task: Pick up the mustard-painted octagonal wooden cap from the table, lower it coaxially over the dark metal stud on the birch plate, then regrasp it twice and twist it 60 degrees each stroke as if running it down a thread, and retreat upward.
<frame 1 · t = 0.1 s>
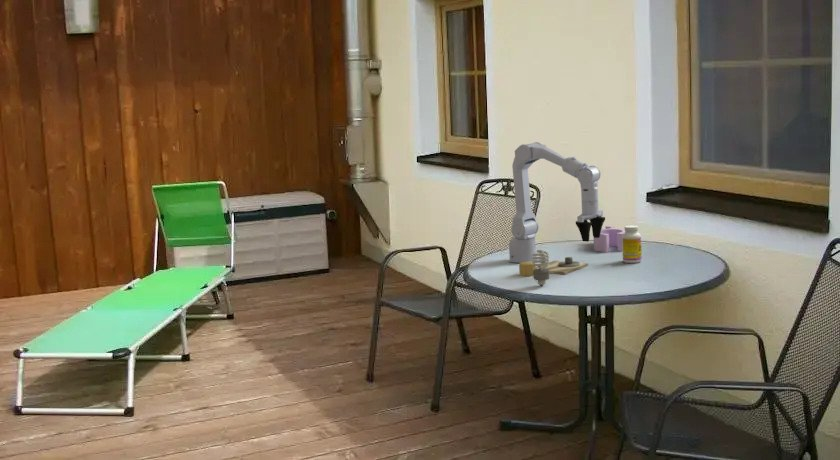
hand: (591, 239, 339), 10 cm above the table, fingers open, 7 cm apart
cap: (527, 274, 336), on the table
clip: (608, 248, 375), on the table
stud plate: (559, 268, 342), on the table
light bulb: (541, 286, 317), on the table
supplement bottle: (632, 262, 346), on the table
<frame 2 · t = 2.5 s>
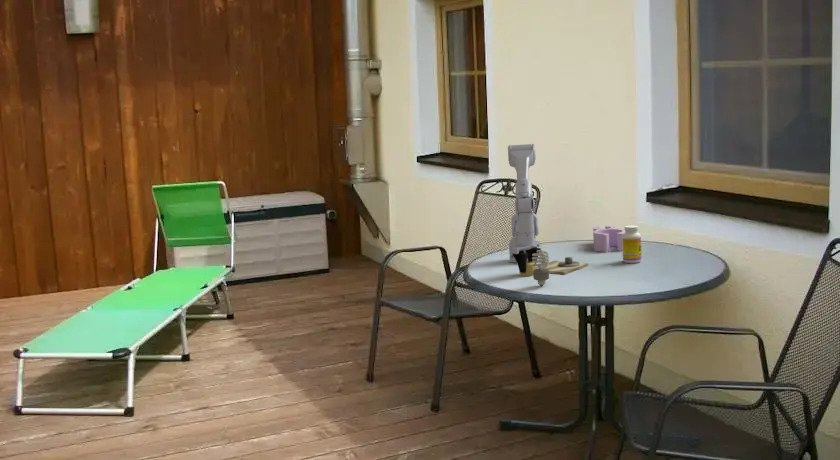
hand: (527, 270, 336), 1 cm above the table, fingers closed on cap, 5 cm apart
cap: (527, 274, 336), on the table, touching gripper
everything else where it was.
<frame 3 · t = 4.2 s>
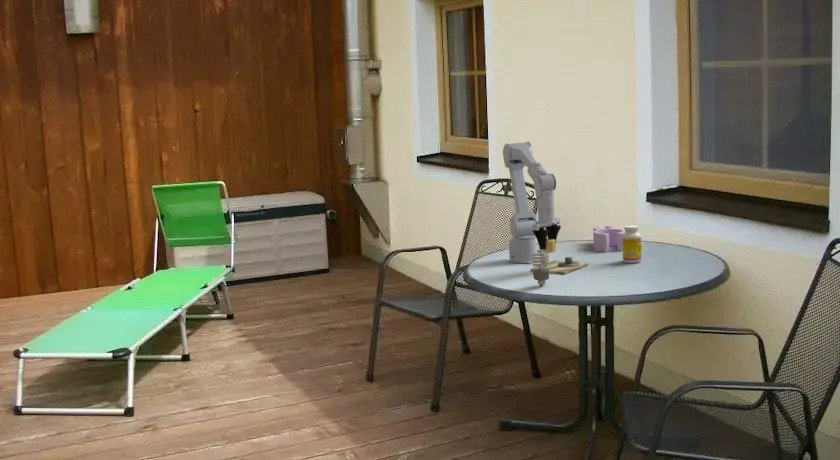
hand: (547, 247, 338), 8 cm above the table, fingers closed on cap, 5 cm apart
cap: (547, 251, 339), point 7 cm above the table, touching gripper
everything else where it was.
when the fingers open (4 cm above the table, at t = 6.1 s): cap drops 1 cm, resting on stud plate.
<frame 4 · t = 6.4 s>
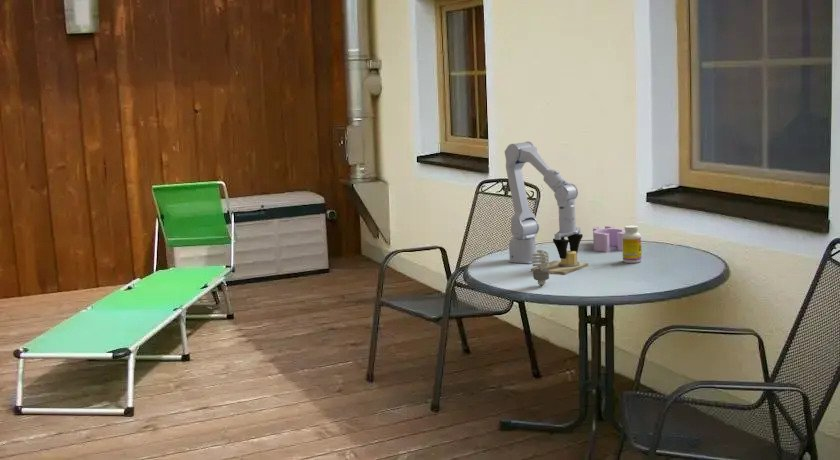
hand: (568, 256, 343), 4 cm above the table, fingers open, 7 cm apart
cap: (569, 263, 343), point 1 cm above the table, touching stud plate
everything else where it was.
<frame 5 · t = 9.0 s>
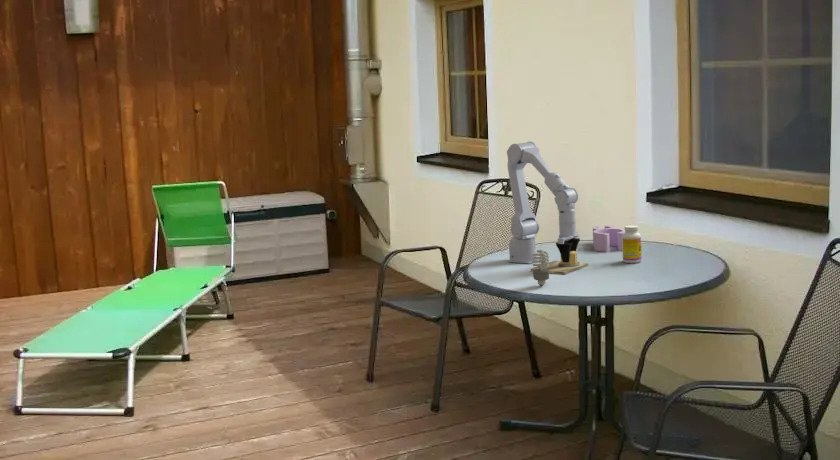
hand: (568, 260, 343), 2 cm above the table, fingers closed on cap, 5 cm apart
cap: (569, 263, 343), point 1 cm above the table, touching gripper
everything else where it was.
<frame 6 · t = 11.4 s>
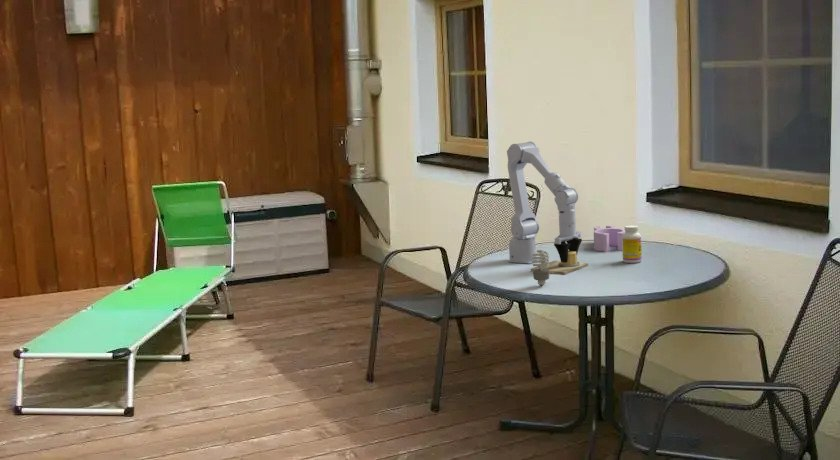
hand: (568, 260, 343), 2 cm above the table, fingers closed on cap, 6 cm apart
cap: (568, 263, 343), point 1 cm above the table, touching gripper, stud plate
when the fingers open (3 cm above the table, at t = 13.1 s): cap stays where it is, resting on stud plate.
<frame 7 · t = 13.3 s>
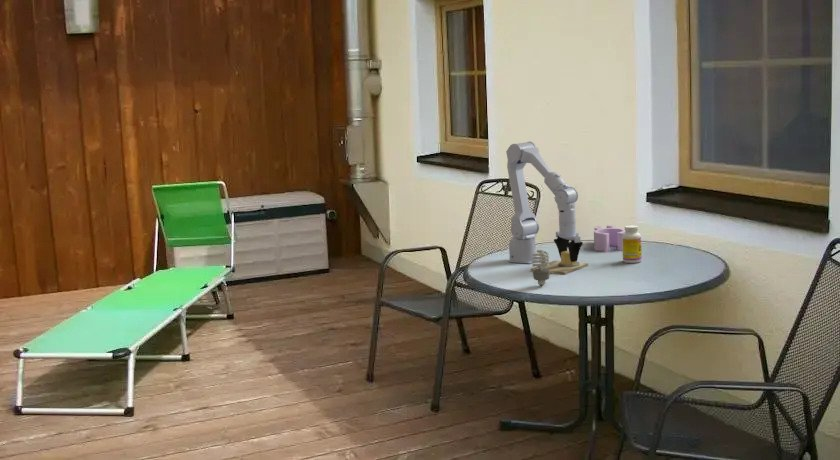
hand: (568, 259, 343), 3 cm above the table, fingers open, 7 cm apart
cap: (568, 263, 343), point 1 cm above the table, touching stud plate
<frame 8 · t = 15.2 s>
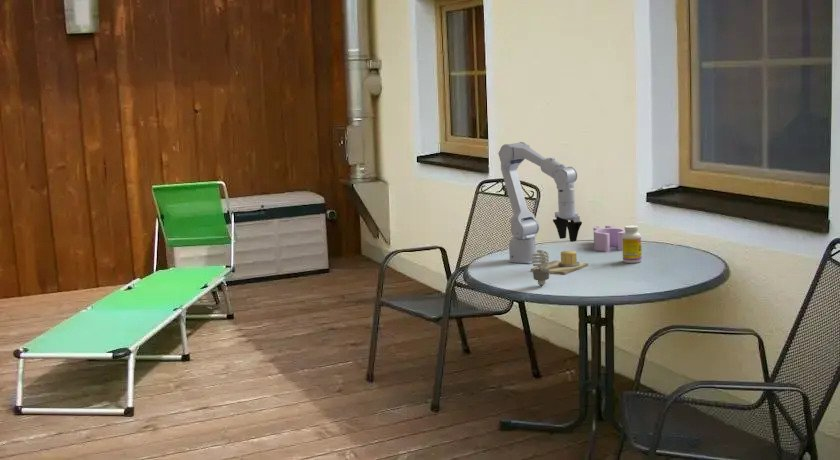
hand: (567, 239, 342), 10 cm above the table, fingers open, 7 cm apart
at the end: cap 0.0 cm from the target spot, point 1.4 cm above the table; cap tilted 0°; the gripper is holding nothing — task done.
